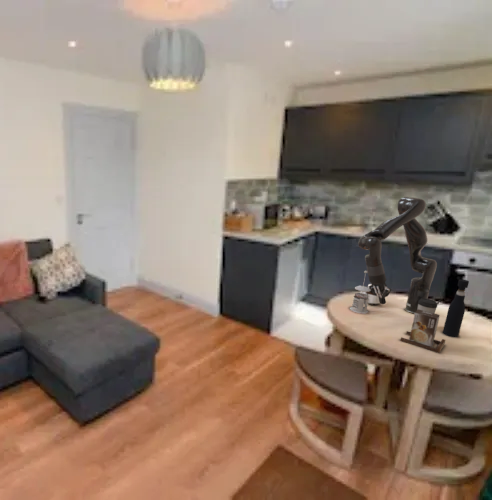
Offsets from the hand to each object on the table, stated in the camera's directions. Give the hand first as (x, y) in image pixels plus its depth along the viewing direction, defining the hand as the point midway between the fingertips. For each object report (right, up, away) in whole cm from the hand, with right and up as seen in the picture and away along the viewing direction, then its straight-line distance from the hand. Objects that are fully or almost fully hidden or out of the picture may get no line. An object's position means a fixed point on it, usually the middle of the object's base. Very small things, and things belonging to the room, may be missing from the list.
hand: (383, 303), depth 194 cm
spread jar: (+15, -5, +37) cm, 40 cm away
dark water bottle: (+33, -16, -3) cm, 37 cm away
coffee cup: (+25, -13, +6) cm, 29 cm away
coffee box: (+11, -18, -12) cm, 24 cm away
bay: (+12, -18, -11) cm, 24 cm away
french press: (+3, -8, +25) cm, 26 cm away
